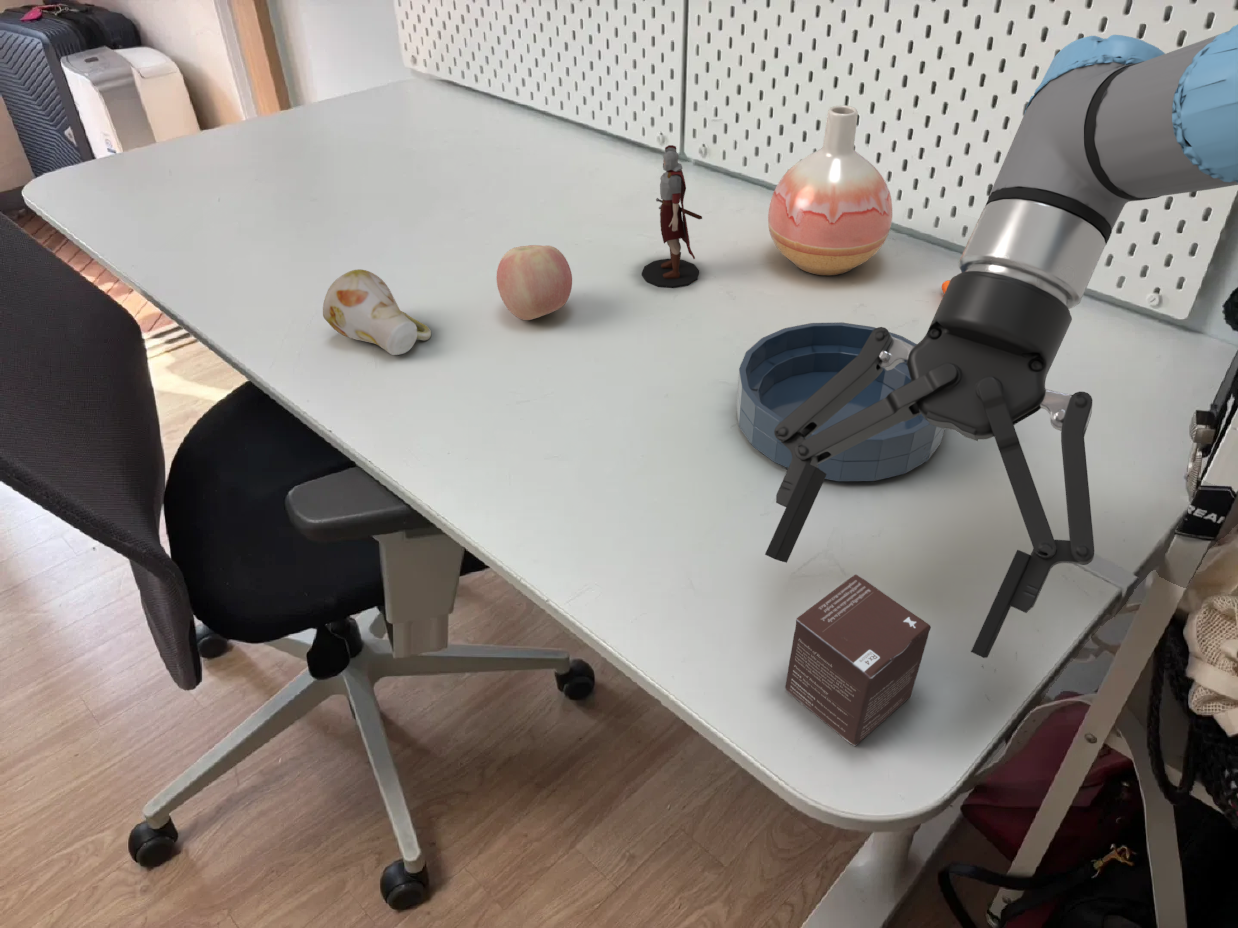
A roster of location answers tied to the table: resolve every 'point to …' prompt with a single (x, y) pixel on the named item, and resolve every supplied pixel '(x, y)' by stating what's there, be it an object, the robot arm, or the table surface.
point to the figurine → (672, 229)
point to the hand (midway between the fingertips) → (871, 604)
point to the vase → (831, 204)
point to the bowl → (801, 366)
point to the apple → (534, 280)
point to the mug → (370, 313)
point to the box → (855, 658)
